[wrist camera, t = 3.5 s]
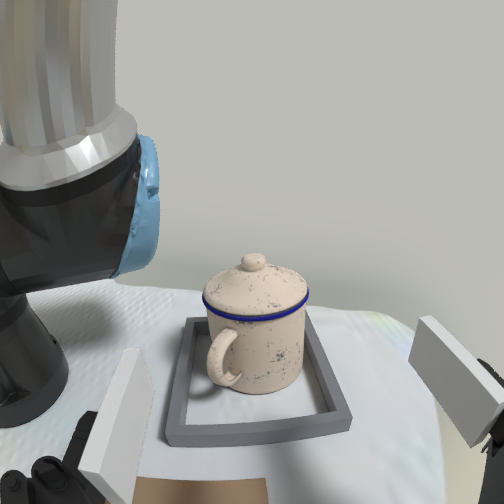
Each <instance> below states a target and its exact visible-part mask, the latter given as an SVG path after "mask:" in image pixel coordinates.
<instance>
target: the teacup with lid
mask: <svg viewBox="0 0 504 504" xmlns="http://www.w3.org/2000/svg"><path fill="white" fill-rule="evenodd" d="M308 295H309V290H308V287H307V284H306V282H305V280H304V279H303V278H302V277H301V276H300V275H299V274H298V273H296V272H294V271H292V270H290V269H287V268H284V267H280V266H275V265H272V264H269V263H266V258H265V257H264V256H263V255H262V254H259V253H250V254H247V255H245V256H243V258H242V264H240V265H237V266H235V267H233V268H230V269H227V270H224V271H222V272H220V273H218V274H216V275H214V276H213V277H212V278H211V279H210V280H209V281H208V282H207V283H206V285H205V287H204V289H203V294H202V300H203V303H204V305H205V306H206V309H207V316H208V323H209V330H210V337H211V343H212V344H211V346H210V349H209V351H208V355H207V361H206V366H207V372H208V375H209V377H210V379H211V380H212V381H213V382H214V383H216V384H218V385H221V386H225V387H227V386H229V387H230V388H232V389H234V390H237V391H240V392H244V393H249V394H266V393H271V392H275V391H278V390H280V389H283V388H285V387H287V386H288V385H290V384H291V383H292V382H293V381H294V380H295V379H296V378H297V377H298V376H299V374H300V372H301V369H302V365H303V349H304V329H305V305H306V301H307V299H308Z"/></svg>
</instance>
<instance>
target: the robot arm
mask: <svg viewBox="0 0 504 504" xmlns="http://www.w3.org/2000/svg"><path fill="white" fill-rule="evenodd" d="M117 4H118V0H0V124H1V128H2V132H3V136H4V138H3V142H2V144H1V146H0V428H8V427H14V426H18V425H21V424H24V423H26V422H28V421H31V420H32V419H34V418H36V417H37V416H39V415H40V414H42V413H43V412H44V411H46V410H47V409H48V408H49V407H50V406H51V405H52V404H53V403H54V402H55V401H56V399H57V398H58V397H59V395H60V394H61V392H62V391H63V389H64V387H65V384H66V382H67V378H68V372H69V369H68V363H67V360H66V358H65V356H64V353H63V351H62V349H61V347H60V345H59V343H58V342H57V340H56V339H55V338H54V337H53V336H52V335H51V334H49V332H48V330H47V329H46V327H45V326H44V325H43V323H42V322H41V320H40V319H39V318H38V317H37V315H36V314H35V313H34V311H33V310H32V308H31V307H30V305H29V303H28V300H27V297H26V293H30V292H36V291H41V290H47V289H52V288H58V287H64V286H69V285H75V284H80V283H86V282H91V281H97V280H103V279H108V278H109V279H113V278H116V277H117V276H118V275H121V274H124V273H128V272H132V271H136V270H140V269H142V268H144V267H146V265H148V264H149V263H150V261H151V260H152V259H153V257H154V255H155V252H156V248H157V243H158V235H159V221H160V201H159V197H158V192H159V167H158V158H157V152H156V148H155V145H154V142H153V140H152V139H151V138H150V137H148V136H143V135H139V134H137V124H136V120H135V119H134V117H133V116H132V115H131V114H130V113H129V112H127V111H126V110H124V109H123V108H122V107H120V106H119V105H117V104H116V102H115V35H116V17H117ZM408 362H409V363H410V364H411V366H412V367H413V368H414V370H415V371H416V372H417V374H418V375H419V376H420V378H421V379H422V380H423V382H424V383H425V384H426V386H427V387H428V388H429V390H430V391H431V393H432V394H433V395H434V397H435V398H436V399H437V401H438V402H439V404H440V405H441V406H442V408H443V409H444V411H445V412H446V413H447V415H448V416H449V418H450V419H451V421H452V422H453V424H454V425H455V426H456V428H457V429H458V431H459V432H460V434H461V435H462V437H463V438H464V440H465V441H466V443H467V444H468V445H469V447H470V448H472V447H474V446H475V445H477V444H479V443H481V442H482V441H483V440H484V438H485V437H486V436H487V434H488V433H490V435H491V438H490V439H489V441H488V442H487V443H486V445H485V446H484V447H483V448H482V451H481V453H483V452H484V451H485V449H486V448H487V447H488V450H487V452H486V453H487V460H486V466H485V473H484V478H483V484H482V489H481V494H480V498H479V502H478V504H504V380H503V379H502V378H501V377H499V375H498V374H497V373H496V372H494V369H493V368H492V367H490V365H489V364H487V363H486V362H484V361H482V360H481V359H477V360H476V359H475V358H474V357H473V356H472V355H471V354H470V353H469V352H468V351H467V350H466V349H465V348H464V347H463V346H462V345H461V344H460V343H459V342H458V341H457V340H456V339H455V338H454V337H453V336H452V335H451V334H450V333H449V332H448V331H447V330H446V329H445V328H444V327H443V326H442V325H441V324H440V323H439V322H438V321H436V320H435V319H434V318H433V317H432V316H431V315H429V316H424V317H420V318H419V320H418V325H417V329H416V333H415V337H414V341H413V345H412V348H411V352H410V355H409V359H408ZM154 395H155V389H154V386H153V383H152V381H151V378H150V375H149V372H148V369H147V366H146V362H145V359H144V356H143V353H142V350H141V348H125V350H124V352H123V355H122V357H121V359H120V361H119V364H118V366H117V368H116V371H115V373H114V375H113V378H112V380H111V382H110V385H109V387H108V390H107V392H106V394H105V397H104V399H103V402H102V404H101V407H100V409H99V412H94V411H87V412H86V413H85V414H84V415H83V416H82V417H81V418H80V419H79V421H78V424H77V426H76V428H75V431H74V433H73V436H72V439H71V441H70V443H69V446H68V448H67V451H66V453H65V456H64V458H63V461H62V462H61V461H60V460H59V459H57V458H56V457H53V456H44V457H41V458H39V459H38V460H36V461H35V463H34V464H33V466H32V469H31V475H32V478H27V477H26V476H25V475H24V474H23V473H21V472H19V471H18V470H10V471H7V472H6V473H4V474H3V476H2V478H1V480H0V500H1V504H105V500H106V499H107V500H108V501H109V502H110V503H111V504H132V499H133V493H134V488H135V482H136V477H137V472H138V467H139V462H140V457H141V452H142V447H143V443H144V438H145V433H146V429H147V425H148V420H149V416H150V412H151V407H152V403H153V399H154Z"/></svg>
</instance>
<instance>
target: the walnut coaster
mask: <svg viewBox="0 0 504 504" xmlns="http://www.w3.org/2000/svg"><path fill="white" fill-rule="evenodd" d="M105 504H111V503H110V502H109V501H108V500H107V499H106V500H105ZM132 504H268V496H267V488H266V481H265V478H259V479H246V480H224V481H190V480H169V479H156V478H146V477H136V482H135V488H134V493H133V499H132Z"/></svg>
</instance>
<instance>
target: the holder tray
mask: <svg viewBox="0 0 504 504" xmlns="http://www.w3.org/2000/svg"><path fill="white" fill-rule="evenodd" d="M199 334H210V330H209V323H208V317H192V318H187V319H186V324H185V329H184V333H183V338H182V343H181V348H180V353H179V358H178V363H177V368H176V373H175V378H174V384H173V389H172V395H171V400H170V406H169V412H168V417H167V423H166V429H165V436H166V438H167V441H168V443H169V445H170V447H232V446H248V445H260V444H270V443H279V442H287V441H294V440H301V439H307V438H313V437H319V436H325V435H330V434H335V433H339V432H344V431H349V428H350V425H351V421H352V418H353V417H352V414H351V412H350V410H349V407H348V405H347V403H346V400H345V398H344V396H343V393H342V391H341V389H340V386H339V384H338V382H337V379H336V377H335V375H334V372H333V370H332V368H331V366H330V363H329V361H328V359H327V356H326V354H325V352H324V350H323V347H322V345H321V343H320V341H319V338H318V336H317V334H316V332H315V329H314V327H313V325H312V323H311V320H310V318H309V316H308V314H307V312H306V309H305V329H304V343H305V346H306V349H307V351H308V354H309V357H310V360H311V362H312V365H313V368H314V370H315V373H316V376H317V379H318V381H319V384H320V387H321V390H322V393H323V395H324V398H325V401H326V404H327V406H328V409H329V412H327V413H322V414H316V415H310V416H303V417H296V418H289V419H281V420H272V421H263V422H251V423H237V424H216V425H185V421H186V412H187V404H188V395H189V387H190V379H191V372H192V364H193V357H194V349H195V342H196V335H199Z"/></svg>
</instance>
